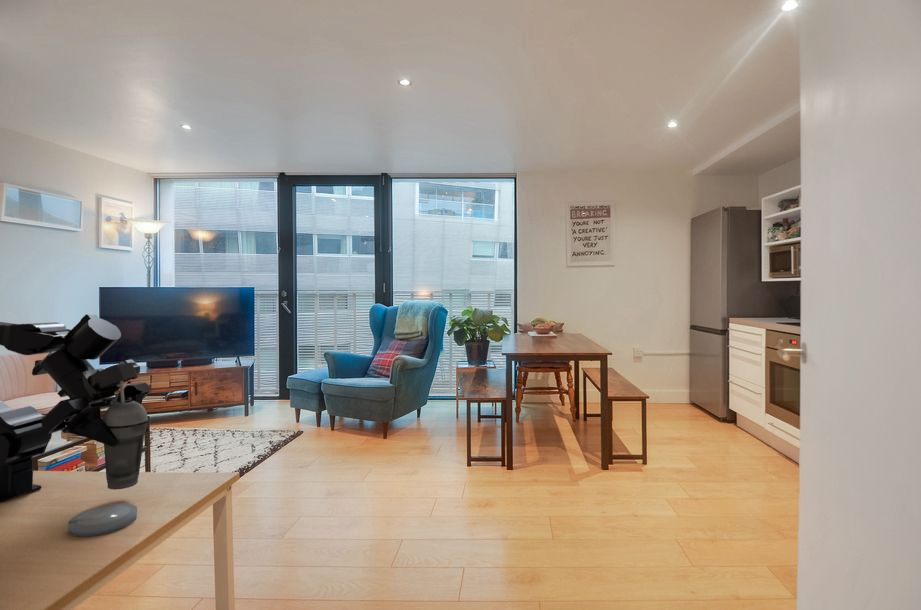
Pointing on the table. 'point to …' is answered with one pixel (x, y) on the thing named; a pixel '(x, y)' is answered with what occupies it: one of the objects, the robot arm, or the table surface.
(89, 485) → the table surface
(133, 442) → the beverage cup
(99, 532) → the slate dish
